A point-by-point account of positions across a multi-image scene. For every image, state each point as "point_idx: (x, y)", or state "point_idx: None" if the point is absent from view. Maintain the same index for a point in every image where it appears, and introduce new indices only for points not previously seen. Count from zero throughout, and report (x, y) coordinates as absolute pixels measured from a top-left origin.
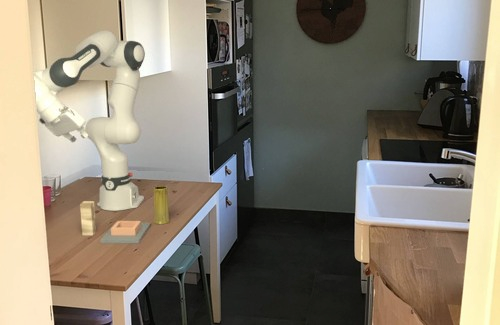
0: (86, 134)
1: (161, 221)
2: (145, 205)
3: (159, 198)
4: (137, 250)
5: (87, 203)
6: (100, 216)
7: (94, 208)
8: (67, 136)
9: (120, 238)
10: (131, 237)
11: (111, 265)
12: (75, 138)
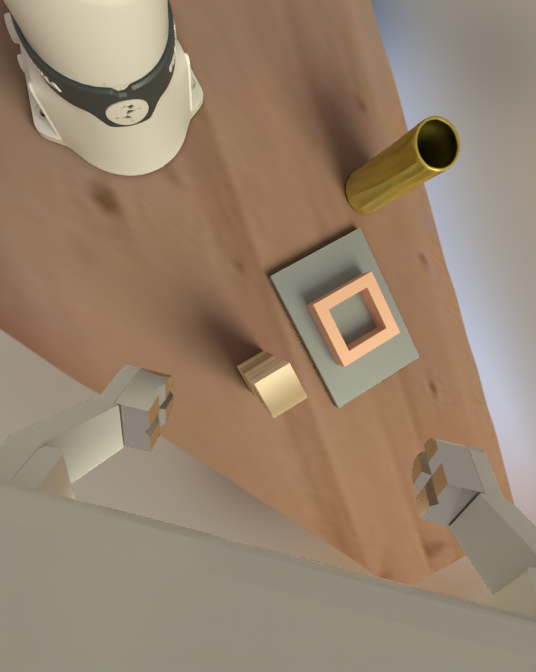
0: (482, 473)
1: (381, 207)
2: (208, 60)
3: (423, 182)
4: (438, 389)
5: (287, 394)
6: (162, 236)
7: (282, 360)
8: (76, 466)
9: (373, 369)
10: (390, 348)
11: None
12: (166, 388)
